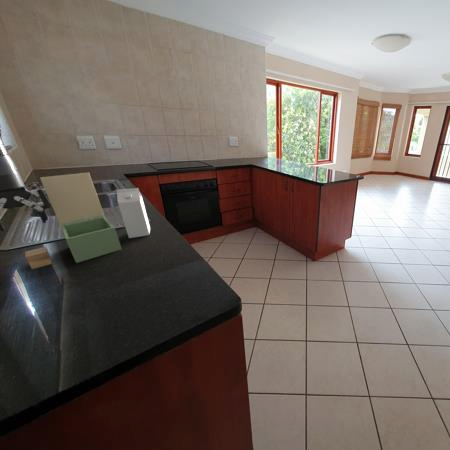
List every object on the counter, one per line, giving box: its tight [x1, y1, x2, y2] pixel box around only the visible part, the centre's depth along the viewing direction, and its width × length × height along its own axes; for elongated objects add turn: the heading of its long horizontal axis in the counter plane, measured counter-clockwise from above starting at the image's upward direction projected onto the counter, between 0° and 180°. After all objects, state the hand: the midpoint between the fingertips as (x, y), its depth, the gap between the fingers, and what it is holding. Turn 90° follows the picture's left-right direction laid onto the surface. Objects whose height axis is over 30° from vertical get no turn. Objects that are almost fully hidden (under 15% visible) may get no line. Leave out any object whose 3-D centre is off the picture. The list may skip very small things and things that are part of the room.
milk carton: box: [115, 187, 151, 239], centre depth 94 cm, size 7×7×19 cm
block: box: [24, 246, 53, 270], centre depth 76 cm, size 5×5×5 cm
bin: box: [60, 215, 122, 264], centre depth 85 cm, size 16×13×9 cm
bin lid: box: [39, 172, 105, 225], centre depth 86 cm, size 16×13×5 cm
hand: (24, 226), depth 72 cm, fingers open, 8 cm apart
